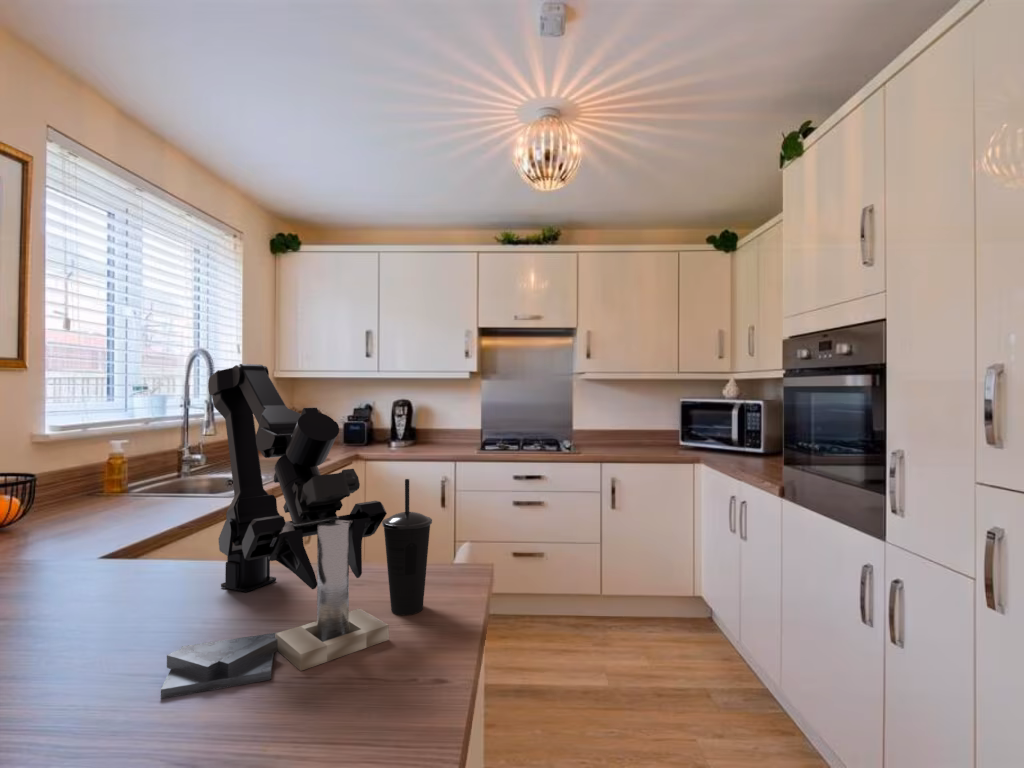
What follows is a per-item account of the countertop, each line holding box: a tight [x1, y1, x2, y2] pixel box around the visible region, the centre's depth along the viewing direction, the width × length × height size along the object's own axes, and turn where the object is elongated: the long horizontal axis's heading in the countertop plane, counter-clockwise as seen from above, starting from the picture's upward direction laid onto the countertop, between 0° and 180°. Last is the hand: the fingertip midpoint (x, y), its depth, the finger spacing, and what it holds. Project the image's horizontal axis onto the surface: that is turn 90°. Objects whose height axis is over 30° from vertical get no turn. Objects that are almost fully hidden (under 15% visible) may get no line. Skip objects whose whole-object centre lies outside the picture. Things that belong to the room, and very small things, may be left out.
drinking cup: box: [381, 478, 433, 616], centre depth 85 cm, size 8×8×20 cm
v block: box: [160, 632, 279, 699], centre depth 67 cm, size 11×12×2 cm
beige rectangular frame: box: [275, 608, 390, 672], centre depth 73 cm, size 12×8×2 cm, turn 134°
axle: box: [316, 520, 350, 642], centre depth 73 cm, size 4×4×16 cm
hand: (337, 581), depth 72 cm, fingers open, 6 cm apart
